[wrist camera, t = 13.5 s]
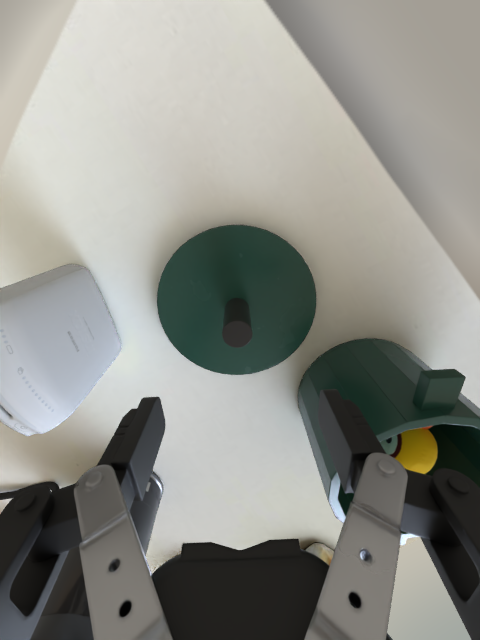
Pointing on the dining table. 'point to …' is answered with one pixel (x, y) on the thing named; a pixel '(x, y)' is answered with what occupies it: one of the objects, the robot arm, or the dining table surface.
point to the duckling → (413, 449)
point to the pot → (391, 407)
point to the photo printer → (52, 347)
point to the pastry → (321, 552)
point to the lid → (236, 299)
